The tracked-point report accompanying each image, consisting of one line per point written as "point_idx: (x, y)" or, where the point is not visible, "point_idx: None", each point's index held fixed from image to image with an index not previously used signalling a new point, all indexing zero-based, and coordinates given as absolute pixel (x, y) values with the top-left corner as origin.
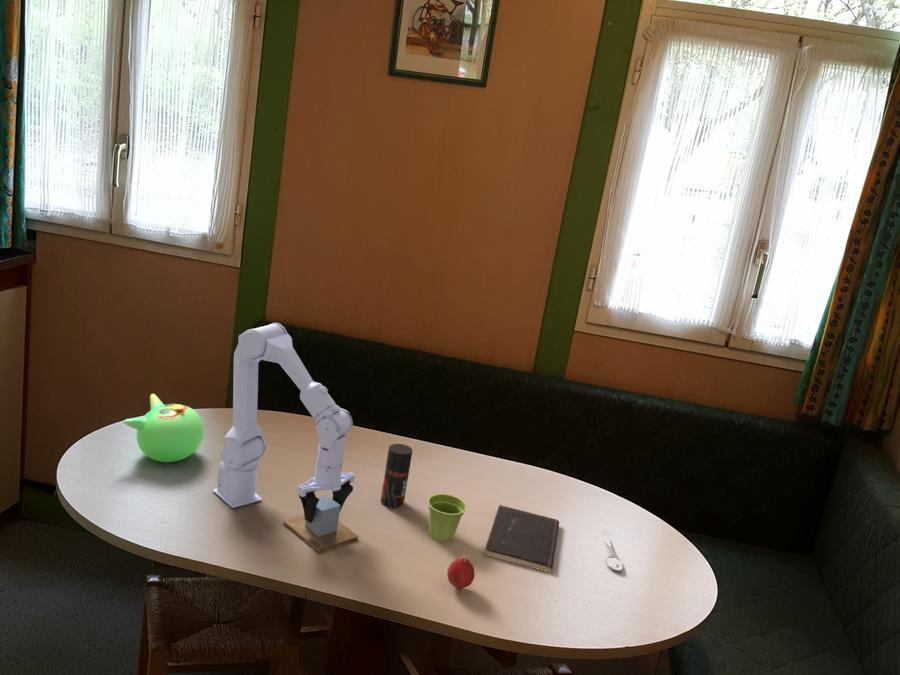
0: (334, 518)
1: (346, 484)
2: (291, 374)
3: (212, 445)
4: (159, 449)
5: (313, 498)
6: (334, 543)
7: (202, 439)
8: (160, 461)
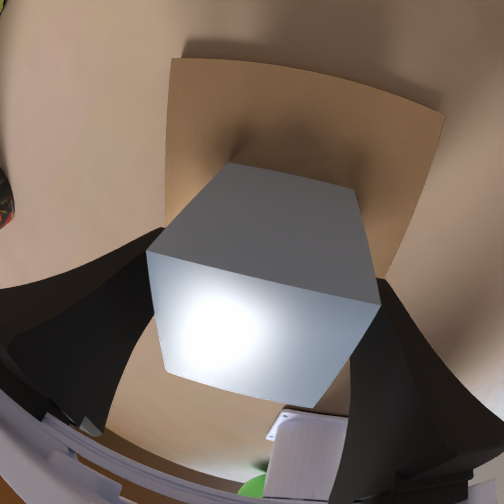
0: (234, 203)
1: (6, 375)
2: None
3: (221, 460)
4: None
5: (466, 463)
6: (337, 86)
7: (253, 490)
8: None
